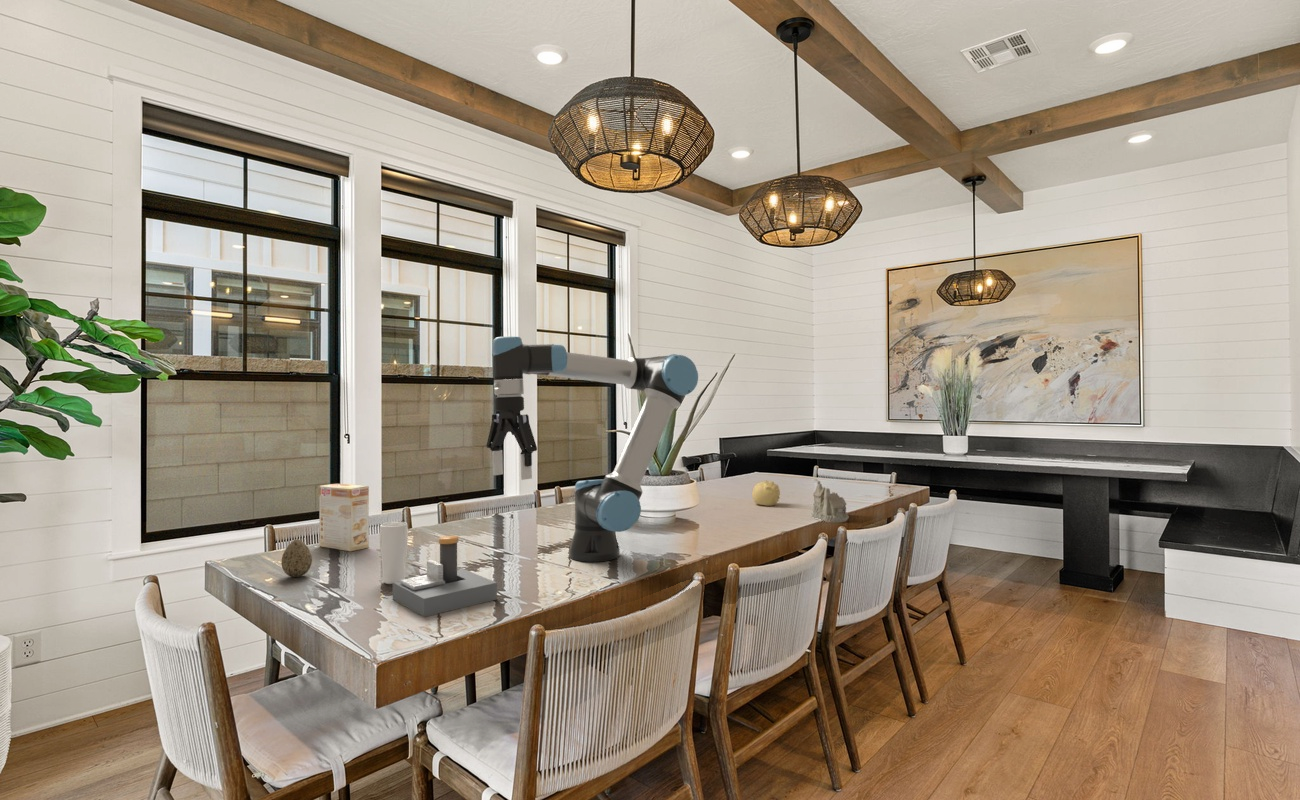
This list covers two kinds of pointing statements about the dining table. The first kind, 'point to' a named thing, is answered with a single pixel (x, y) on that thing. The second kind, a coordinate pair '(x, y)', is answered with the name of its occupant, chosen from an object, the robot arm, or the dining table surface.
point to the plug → (449, 557)
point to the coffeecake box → (344, 516)
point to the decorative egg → (296, 559)
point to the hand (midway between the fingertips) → (511, 477)
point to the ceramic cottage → (828, 505)
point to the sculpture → (766, 493)
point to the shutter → (426, 577)
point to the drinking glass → (393, 550)
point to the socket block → (447, 594)
